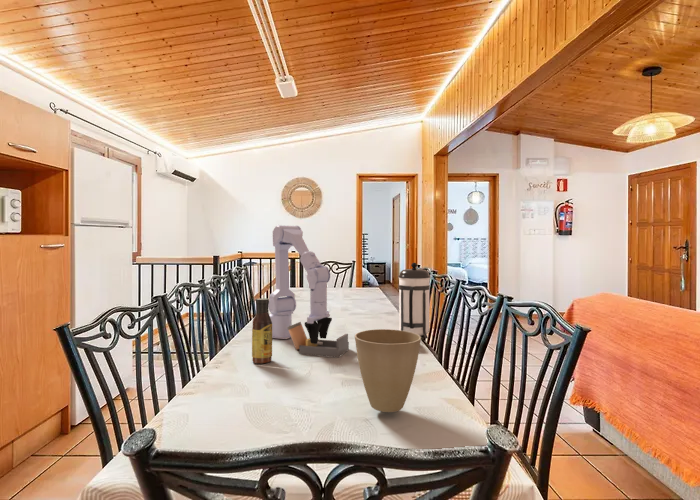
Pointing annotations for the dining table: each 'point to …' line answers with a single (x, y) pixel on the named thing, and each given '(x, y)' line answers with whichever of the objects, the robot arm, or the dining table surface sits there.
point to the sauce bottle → (262, 333)
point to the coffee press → (414, 301)
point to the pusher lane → (327, 347)
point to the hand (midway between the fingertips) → (318, 340)
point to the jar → (297, 335)
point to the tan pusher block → (308, 343)
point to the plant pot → (387, 366)
